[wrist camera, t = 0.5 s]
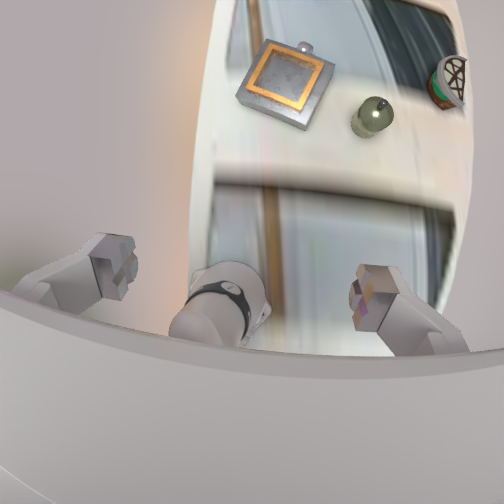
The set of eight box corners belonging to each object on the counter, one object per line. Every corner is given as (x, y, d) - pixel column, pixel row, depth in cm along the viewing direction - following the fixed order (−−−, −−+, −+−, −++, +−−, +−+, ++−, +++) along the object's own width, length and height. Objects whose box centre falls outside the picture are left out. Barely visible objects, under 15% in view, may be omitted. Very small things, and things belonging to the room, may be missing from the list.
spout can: (371, 143, 50) (391, 131, 37) (346, 129, 50) (359, 113, 37) (381, 120, 48) (402, 103, 36) (357, 107, 49) (372, 86, 36)
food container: (425, 60, 42) (442, 43, 33) (447, 71, 42) (467, 57, 32) (419, 104, 46) (438, 91, 36) (442, 115, 45) (464, 106, 36)
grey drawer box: (305, 131, 52) (305, 122, 44) (241, 104, 52) (232, 92, 45) (337, 64, 47) (342, 48, 39) (275, 40, 48) (271, 23, 40)
